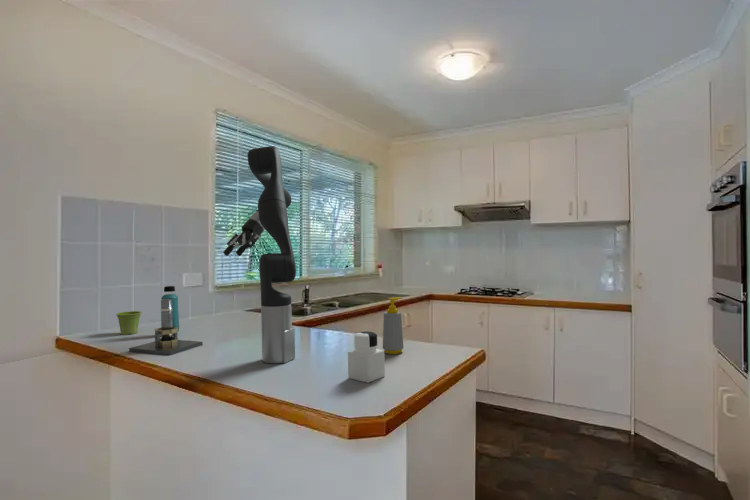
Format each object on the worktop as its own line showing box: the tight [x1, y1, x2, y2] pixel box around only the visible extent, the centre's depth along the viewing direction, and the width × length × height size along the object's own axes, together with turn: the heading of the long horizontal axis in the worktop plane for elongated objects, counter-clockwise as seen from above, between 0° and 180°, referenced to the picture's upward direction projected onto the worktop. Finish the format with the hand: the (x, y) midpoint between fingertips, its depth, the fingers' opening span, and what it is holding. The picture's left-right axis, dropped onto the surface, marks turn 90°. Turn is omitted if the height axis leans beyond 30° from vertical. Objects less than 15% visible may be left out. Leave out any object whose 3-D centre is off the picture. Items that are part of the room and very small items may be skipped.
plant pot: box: [115, 310, 143, 336], centre depth 180 cm, size 9×9×9 cm
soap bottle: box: [382, 296, 404, 355], centre depth 141 cm, size 7×7×18 cm
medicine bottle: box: [347, 331, 386, 384], centre depth 115 cm, size 7×7×12 cm
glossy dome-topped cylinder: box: [160, 299, 173, 341], centre depth 152 cm, size 4×4×16 cm
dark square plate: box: [128, 326, 203, 356], centre depth 152 cm, size 18×15×7 cm
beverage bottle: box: [160, 285, 180, 332], centre depth 176 cm, size 6×7×20 cm
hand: (231, 254), depth 164 cm, fingers open, 8 cm apart
